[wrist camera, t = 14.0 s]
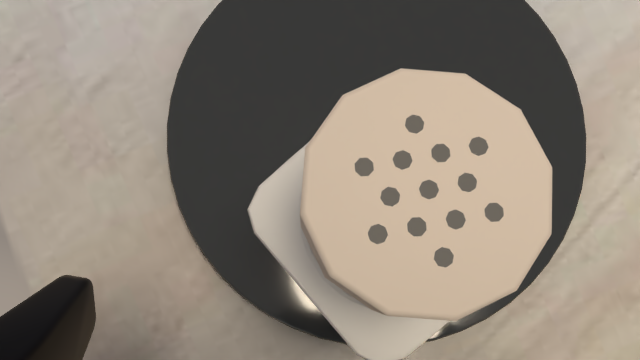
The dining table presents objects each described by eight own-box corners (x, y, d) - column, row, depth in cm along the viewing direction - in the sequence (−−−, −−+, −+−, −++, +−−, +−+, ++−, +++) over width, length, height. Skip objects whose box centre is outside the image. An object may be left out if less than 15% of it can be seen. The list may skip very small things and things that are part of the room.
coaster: (254, 412, 17) (253, 417, 16) (116, 22, 18) (110, 13, 18) (646, 251, 18) (658, 250, 17) (479, -104, 19) (485, -116, 19)
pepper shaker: (352, 347, 16) (417, 432, 7) (257, 233, 17) (198, 170, 7) (461, 249, 17) (656, 207, 8) (366, 141, 17) (438, -25, 8)
